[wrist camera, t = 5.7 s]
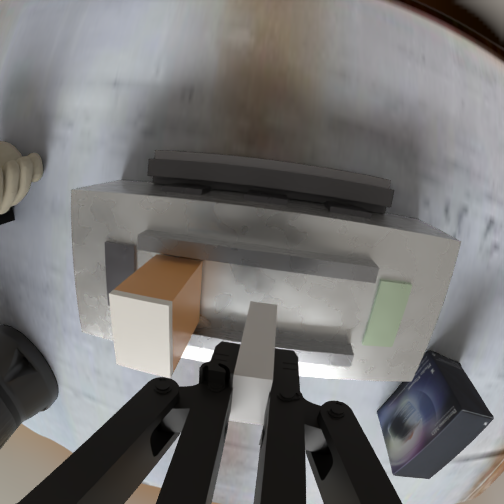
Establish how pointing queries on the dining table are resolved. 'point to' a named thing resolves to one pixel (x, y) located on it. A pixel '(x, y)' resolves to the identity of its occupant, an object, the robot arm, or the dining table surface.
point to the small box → (431, 418)
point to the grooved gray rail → (271, 178)
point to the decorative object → (16, 178)
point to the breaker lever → (156, 314)
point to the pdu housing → (273, 271)
